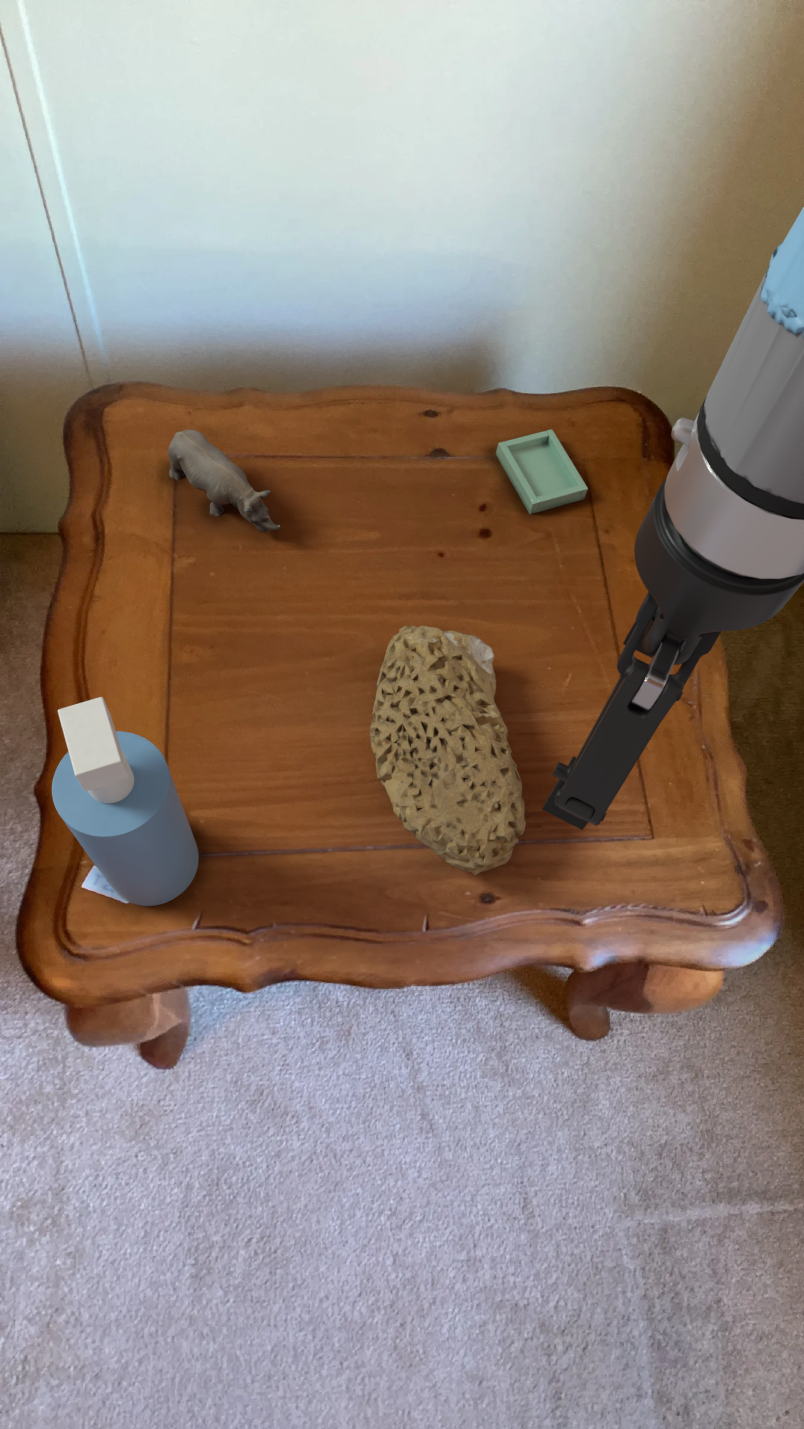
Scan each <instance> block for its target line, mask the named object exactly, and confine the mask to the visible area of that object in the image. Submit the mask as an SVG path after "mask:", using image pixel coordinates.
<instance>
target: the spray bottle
mask: <svg viewBox="0 0 804 1429" xmlns="http://www.w3.org/2000/svg"><path fill="white" fill-rule="evenodd" d="M57 715H58V718H59V721H60V725H61V729H62V733H63V737H64V740H65V743H66V747H67V752H66V754H64V756H63V757H62V758H61V760H60V762H59V764H58V765H57V766H56V769H55V772H54V774H53V778H52V783H51V797H52V801H53V804H54V807H55V809H56V811H57V813H58V815H59V817H60V818H61V819H62V820H63V822H64V823H65V825H66V826H67V828H68V829H69V831H70V832H71V833H72V835H73V836H74V837H75V839H76V840H77V841H78V843H79V844H80V846H81V848H82V849H83V850H84V851H85V853H86V854H87V856H88V857H89V858H90V860H91V861H92V862H93V864H94V865H95V867H96V868H97V870H98V871H99V872H100V874H101V875H102V877H103V878H104V880H105V881H106V882H107V884H108V885H109V887H110V888H111V889H112V890H113V892H114V893H115V894H116V895H117V896H118V897H120V898H121V899H122V900H124V901H125V902H128V903H129V904H132V905H137V906H141V907H153V906H159V905H163V904H166V903H168V902H171V901H173V900H174V899H175V898H177V897H179V896H181V895H182V894H183V893H184V892H185V891H186V890H187V889H188V888H189V886H190V885H191V883H192V882H193V880H194V878H195V876H196V875H197V874H196V873H197V871H198V867H199V860H200V859H199V858H200V856H199V849H198V845H197V842H196V840H195V836H194V834H193V830H192V828H191V826H190V823H189V820H188V817H187V815H186V812H185V809H184V807H183V804H182V801H181V798H180V796H179V793H178V790H177V787H176V784H175V781H174V779H173V776H172V774H171V771H170V768H169V765H168V763H167V761H166V757H164V755H163V753H162V751H161V750H160V749H159V748H158V747H157V746H156V745H155V744H154V743H153V742H151V741H150V740H149V739H148V738H146V737H143V736H142V735H139V734H136V733H133V732H128V731H120V730H117V731H116V728H115V724H114V721H113V717H112V714H111V712H110V710H109V708H108V705H107V703H106V701H105V699H104V697H103V696H99V697H95V698H93V699H89V700H86V701H83V702H79V703H76V704H73V705H69V706H66V707H61V708H59V709H57Z"/></svg>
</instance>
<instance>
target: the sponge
mask: <svg viewBox="0 0 804 1429" xmlns="http://www.w3.org/2000/svg"><path fill="white" fill-rule="evenodd" d="M398 631H399V632H397V633H395V634H394V635H393V636H392V638H391V639H390V641H389V642H388V645H387V647H386V651H385V654H384V658H383V662H382V663H381V666H380V669H379V675H378V679H377V680H376V681H377V682H376V692H375V698H374V703H373V707H372V714H371V718H372V721H371V722H370V727H369V738H370V746H371V750H372V752H373V756H375V763H374V764H375V768H376V769H375V770H376V778H377V780H379V781H380V783H381V785H382V787H383V788H384V789H385V790H386V793H387V795H388V797H389V800H390V803H391V805H392V810H393V813H394V814H395V815H396V817H398V819H399V820H400V821H401V822H402V825H403V827H404V829H405V830H406V831H408V832H409V833H410V834H412V835H413V837H415V838H416V840H417V841H418V842H420V843H421V844H424V845H425V846H426V847H427V848H428V849H430V850H431V851H432V852H433V854H435V855H436V856H439V857H441V858H442V859H443V860H444V862H446V863H448V864H449V865H451V866H452V867H455V869H458V870H460V871H462V872H468V873H471V874H473V875H474V876H477V875H478V874H479V873H483V872H486V871H490V870H492V869H494V868H497V867H500V866H502V865H505V864H507V863H508V862H509V860H510V859H511V857H512V854H513V850H514V846H515V845H516V844H519V843H520V842H519V841H520V840H519V837H520V836H522V835H523V834H524V832H525V831H526V825H527V821H526V805H525V800H524V798H523V797H524V792H523V791H524V790H523V783H522V779H521V776H520V773H519V771H518V765H517V763H516V762H515V761H514V760H513V758H512V755H511V754H512V752H513V751H512V749H511V748H512V747H511V746H510V744H509V741H508V736H509V730H508V727H507V725H506V724H505V721H504V720H503V717H502V713H501V711H500V710H499V707H498V706H497V704H496V701H495V695H496V692H497V691H496V690H497V678H496V677H497V675H496V673H495V670H494V665H493V661H494V658H495V652H494V650H493V648H492V646H490V645H488V644H487V643H486V642H483V640H481V639H480V638H479V637H477V636H476V635H474V634H465V633H462V632H460V631H457V630H451V629H449V630H441V629H440V628H439V627H435V626H433V627H432V626H426V625H420V626H415V625H404V626H402V627H401V628H399V629H398Z"/></svg>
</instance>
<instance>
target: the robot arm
mask: <svg viewBox="0 0 804 1429" xmlns="http://www.w3.org/2000/svg"><path fill="white" fill-rule="evenodd" d="M768 263H769V264H768V267H767V269H766V271H765V274H764V275H763V276H762V279H761V282H760V284H759V286H758V288H757V290H756V292H755V294H754V296H753V298H752V300H751V302H750V305H749V307H748V309H747V311H746V313H745V315H744V317H743V319H742V321H741V323H740V325H739V327H738V330H737V331H736V333H735V336H734V338H733V340H732V342H731V343H730V346H729V348H728V350H727V352H726V353H725V356H724V358H723V361H722V363H721V365H720V366H719V369H718V370H717V373H716V375H715V377H714V379H713V382H712V383H711V385H710V387H709V389H708V391H707V394H706V396H705V398H704V400H703V402H702V404H701V406H700V409H699V412H698V413H697V415H696V418H695V419H694V420H692V419H690V418H686V417H681V418H679V419H677V421H676V422H675V423H674V425H673V426H672V430H671V433H670V436H671V438H672V440H673V441H675V442H676V443H679V444H681V445H682V446H681V447H680V449H679V451H678V453H677V454H676V457H675V459H674V460H673V462H672V465H671V467H670V469H669V471H668V473H667V475H666V478H665V479H664V480H663V481H662V483H661V484H660V486H659V488H658V490H657V492H656V493H655V496H654V498H653V500H652V502H651V504H650V505H649V508H648V510H647V512H646V514H645V516H644V518H643V520H642V521H641V523H640V526H639V528H638V529H637V532H636V537H635V542H634V548H633V550H634V551H633V554H634V555H633V556H634V562H635V567H636V570H637V573H638V576H639V578H640V580H641V582H642V584H643V585H644V587H645V589H646V590H647V593H646V595H645V597H644V599H643V600H642V603H641V604H640V607H639V608H638V611H637V613H636V617H635V621H634V623H633V624H632V626H631V628H630V630H629V631H628V633H627V634H626V637H625V639H624V641H623V643H622V645H624V647H623V649H622V651H621V653H620V655H619V658H618V660H617V663H616V670H617V672H618V674H619V675H620V676H619V678H618V679H617V681H616V683H615V685H614V687H613V689H612V691H611V692H610V695H609V696H608V698H607V700H606V701H605V704H604V706H603V707H602V709H601V711H600V713H599V715H598V717H597V719H596V721H595V722H594V724H593V726H592V729H591V730H590V732H589V733H588V734H587V737H586V739H585V741H584V743H583V744H582V747H581V748H580V750H579V752H578V754H577V756H572V757H571V759H570V761H569V762H568V764H565V763H563V762H561V761H558V762H557V764H556V765H555V767H554V769H553V771H552V774H551V776H552V777H555V778H557V779H558V780H557V782H556V784H555V785H554V787H553V788H552V790H551V791H550V793H549V795H548V797H546V800H545V802H544V804H543V806H542V808H541V810H542V811H544V812H546V813H547V814H550V815H552V816H554V817H555V818H558V819H560V820H561V821H563V822H565V823H567V824H569V825H571V826H573V827H575V828H576V829H579V830H581V831H583V830H584V829H585V827H586V826H587V825H588V823H589V824H591V825H593V826H595V827H597V826H600V824H601V822H603V821H604V820H605V818H606V817H607V811H608V809H609V808H610V806H611V805H612V803H613V802H614V799H615V798H616V797H617V795H618V793H619V791H620V790H621V788H622V786H623V785H624V784H625V781H626V780H627V779H628V778H629V775H630V773H631V772H632V770H633V768H635V765H636V764H637V762H638V760H639V759H640V757H641V756H642V754H643V753H644V750H645V749H646V748H647V745H648V744H649V742H650V741H651V740H652V737H654V734H655V733H656V731H657V730H658V728H659V726H660V725H661V723H662V722H663V720H664V719H665V717H666V716H667V715H668V713H669V712H670V711H671V709H672V707H673V706H674V705H675V703H676V702H679V701H680V700H681V698H682V696H683V694H684V691H683V690H684V688H685V685H686V684H687V681H688V680H689V678H690V677H691V675H692V673H693V671H694V669H695V668H696V666H697V664H698V662H699V661H700V659H701V658H702V657H703V656H705V655H707V654H709V652H711V651H712V648H713V647H714V645H715V643H716V642H717V640H718V638H719V636H720V635H721V632H736V631H743V630H744V631H745V630H748V629H751V628H754V627H757V626H759V625H763V624H764V623H766V622H768V621H769V620H770V619H772V618H773V617H775V616H776V615H777V614H778V613H779V612H780V611H781V610H782V609H783V608H784V607H785V605H786V604H787V603H788V601H789V600H790V599H791V598H792V597H793V596H794V594H796V592H797V591H798V589H799V588H800V587H801V586H802V585H803V583H804V206H803V208H802V209H801V211H800V212H799V214H798V216H797V218H796V219H795V221H794V222H793V224H792V226H791V228H790V229H789V231H788V233H787V234H786V237H785V238H784V240H783V241H782V242H780V244H779V245H778V246H777V247H775V249H774V251H773V252H772V254H771V258H770V260H769V262H768ZM635 652H639V653H641V654H643V655H645V656H647V657H649V658H651V660H650V662H649V663H647V662H645V661H643V660H641V659H639V658H637V657H636V656H635ZM674 666H680V667H679V668H678V670H677V671H676V672H675V673H671V672H672V670H673V667H674Z"/></svg>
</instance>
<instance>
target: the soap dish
mask: <svg viewBox="0 0 804 1429" xmlns="http://www.w3.org/2000/svg"><path fill="white" fill-rule="evenodd" d="M495 455H496V457H497V459H498V461H499V463H500V465H501V466H502V468H503V470H504V471H505V473H506V475H507V477H508V479H509V481H510V482H511V484H512V485H513V488H514V489H515V491H516V493H517V494H518V496H519V498H520V500H521V501H522V503H523V505H524V507H525V509H526V511H527V512H528V514H529V515H533V514H536V513H540V512H543V511H547V510H551V509H555V508H557V507H561V506H564V505H568V504H572V503H576V502H579V501H582V500H585V498H586V495H587V493H588V490H589V487H588V486H587V485H586V483H585V481H584V480H583V478H582V476H581V474H580V473H579V471H578V469H577V468H576V466H575V465H574V462H573V461H572V459H571V458H570V457H569V455H568V453H567V451H566V450H565V448H564V446H563V445H562V443H561V441H560V439H559V438H558V437H557V435H556V433H555V431H554V430H553V429H552V428H551V429H547V430H544V431H540V432H536V433H532V434H528V435H523V436H519V437H516V438H512V439H508V440H505V441H500V442H498V443H497V447H496V451H495Z"/></svg>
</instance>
